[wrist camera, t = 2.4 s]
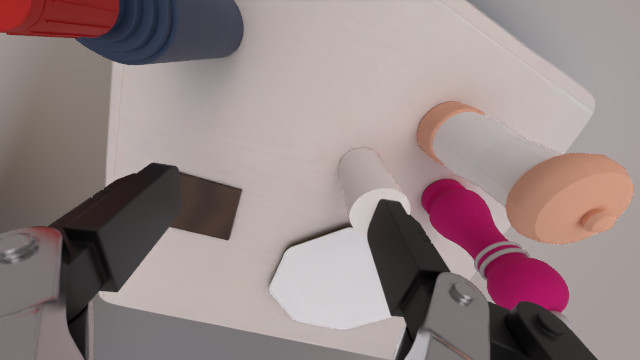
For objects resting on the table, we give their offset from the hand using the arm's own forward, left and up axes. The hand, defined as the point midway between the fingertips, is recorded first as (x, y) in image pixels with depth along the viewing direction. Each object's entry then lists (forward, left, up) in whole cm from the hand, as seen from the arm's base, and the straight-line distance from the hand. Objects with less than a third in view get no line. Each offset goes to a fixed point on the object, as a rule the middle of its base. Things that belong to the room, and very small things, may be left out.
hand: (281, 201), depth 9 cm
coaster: (-9, -20, -21) cm, 30 cm away
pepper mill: (+25, -6, -22) cm, 34 cm away
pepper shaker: (+19, +3, -22) cm, 29 cm away
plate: (+19, -29, -22) cm, 41 cm away
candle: (+11, -6, -22) cm, 25 cm away
